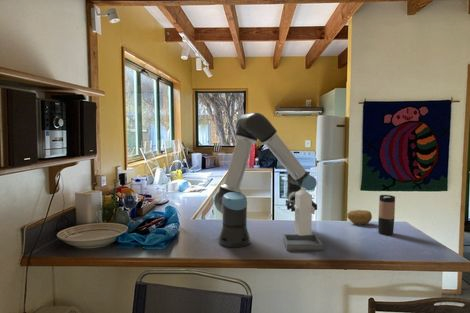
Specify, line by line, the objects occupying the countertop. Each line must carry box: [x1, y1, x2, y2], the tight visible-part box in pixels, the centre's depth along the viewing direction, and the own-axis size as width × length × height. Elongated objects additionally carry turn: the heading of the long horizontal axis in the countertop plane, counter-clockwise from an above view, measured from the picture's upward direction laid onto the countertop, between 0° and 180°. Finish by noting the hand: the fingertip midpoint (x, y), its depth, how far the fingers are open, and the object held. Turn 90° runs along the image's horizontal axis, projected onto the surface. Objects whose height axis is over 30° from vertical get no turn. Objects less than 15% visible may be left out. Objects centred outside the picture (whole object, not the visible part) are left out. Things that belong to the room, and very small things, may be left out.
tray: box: [282, 233, 324, 252], centre depth 152 cm, size 16×14×3 cm
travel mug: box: [377, 194, 396, 236], centre depth 170 cm, size 8×8×20 cm
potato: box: [346, 209, 373, 225], centre depth 188 cm, size 10×14×8 cm
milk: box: [294, 186, 313, 236], centre depth 151 cm, size 6×6×22 cm
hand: (305, 211), depth 146 cm, fingers closed on milk, 7 cm apart
